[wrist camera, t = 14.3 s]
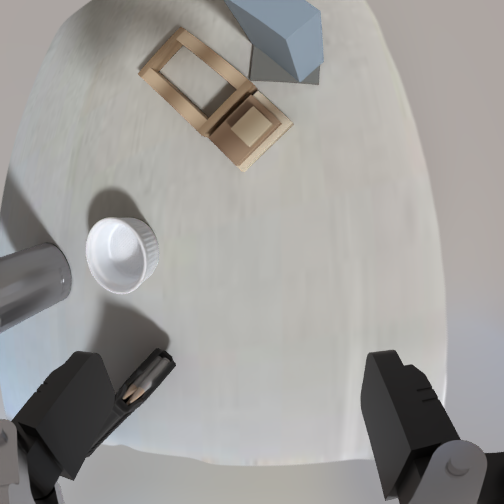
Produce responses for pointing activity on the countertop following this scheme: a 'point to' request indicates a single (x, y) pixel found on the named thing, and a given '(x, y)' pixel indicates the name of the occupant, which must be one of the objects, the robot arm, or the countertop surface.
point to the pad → (275, 70)
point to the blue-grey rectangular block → (283, 32)
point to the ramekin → (121, 253)
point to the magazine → (136, 391)
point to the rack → (229, 113)
